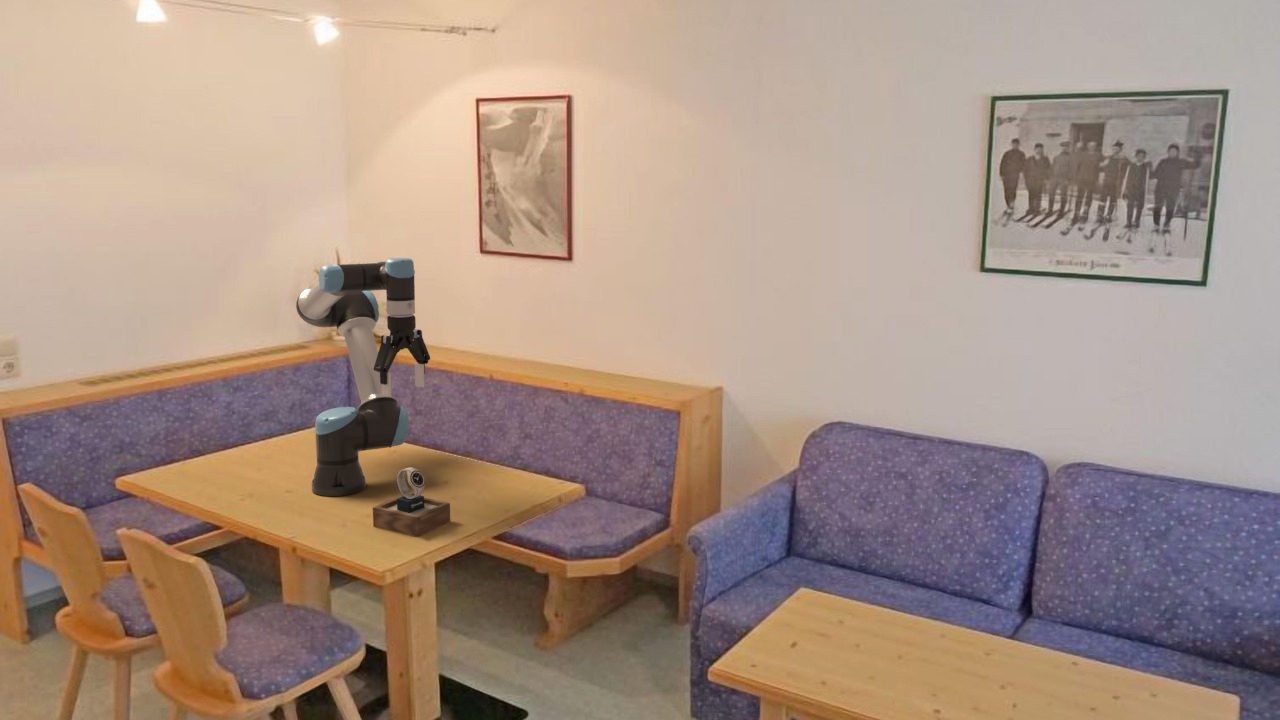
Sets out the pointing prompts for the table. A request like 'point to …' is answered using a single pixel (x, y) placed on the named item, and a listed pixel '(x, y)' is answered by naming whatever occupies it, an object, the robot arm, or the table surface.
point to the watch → (408, 500)
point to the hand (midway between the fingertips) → (403, 391)
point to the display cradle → (411, 517)
